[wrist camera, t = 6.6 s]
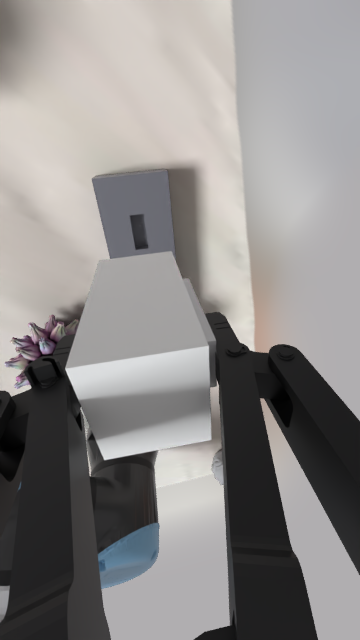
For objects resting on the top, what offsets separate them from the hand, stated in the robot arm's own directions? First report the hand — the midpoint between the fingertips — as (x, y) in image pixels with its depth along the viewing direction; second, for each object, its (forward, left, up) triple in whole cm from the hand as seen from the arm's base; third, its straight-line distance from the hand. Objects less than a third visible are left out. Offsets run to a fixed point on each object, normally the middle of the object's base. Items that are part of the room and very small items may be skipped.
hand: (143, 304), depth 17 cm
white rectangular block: (0, 0, -3) cm, 3 cm away
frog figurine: (-57, -11, -22) cm, 62 cm away
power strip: (-11, 0, -21) cm, 24 cm away
